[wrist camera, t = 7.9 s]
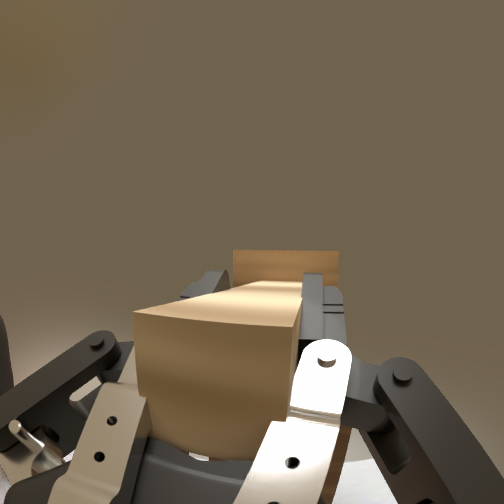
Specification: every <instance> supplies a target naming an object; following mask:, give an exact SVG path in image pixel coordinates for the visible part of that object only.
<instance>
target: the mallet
mask: <svg viewBox="0 0 504 504" xmlns="http://www.w3.org/2000/svg"><path fill="white" fill-rule="evenodd" d="M233 262H234V263H233V288H231V289H228V290H224V291H220V292H216V293H212V294H206V295H202V296H198V297H194V298H190V299H186V300H181V301H177V302H173V303H169V304H164V305H160V306H156V307H151V308H147V309H143V310H138V311H134V312H133V327H134V328H133V329H134V349H135V363H136V374H137V384H138V393H139V396H143V397H146V398H147V402H148V407H149V412H150V416H151V421H152V425H153V428H152V429H151V430H150V431H149V433H148V436H147V437H150V438H153V439H156V440H159V441H162V442H165V443H168V444H169V445H171V446H173V447H175V448H176V449H179V450H183V451H187V452H191V453H195V454H199V455H203V456H207V457H212V458H217V459H222V460H227V461H232V460H245V461H252V462H254V460H255V458H256V456H257V454H258V452H259V450H260V447H261V445H262V443H263V441H264V438H265V436H266V434H267V432H268V429H269V427H270V425H271V422H272V421H274V422H286V419H287V414H288V410H289V408H290V402H291V395H292V388H293V380H294V376H295V374H296V371H297V367H298V342H299V330H300V320H301V309H302V298H301V293H302V281H303V273H322V283H323V286H336V287H337V289H338V270H339V269H338V268H339V251H287V250H234V259H233Z"/></svg>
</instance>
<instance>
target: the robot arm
mask: <svg viewBox="0 0 504 504" xmlns="http://www.w3.org/2000/svg"><path fill="white" fill-rule="evenodd" d="M228 289H231V288H230V282H229V275H228V272H227V271H226V270H207V271H206V273H205V274H204V276H203V278H202V279H201V281H195V282H193V283H192V284H191V285H189V286H188V287H187V288H185V290H184V291H183V293H182V294H181V296H180V298H179V299H178V300H177V301H181V300H186V299H190V298H194V297H198V296H202V295H206V294H212V293H216V292H220V291H224V290H228ZM301 298H302V309H301V320H300V330H299V342H298V367H297V371H296V374H295V376H294V380H293V388H292V395H291V402H290V408H289V410H288V414H287V419H286V422H274V421H272V422H271V425H270V427H269V429H268V432H267V434H266V436H265V438H264V441H263V443H262V445H261V447H260V450H259V452H258V454H257V456H256V458H255V460H254V462H252V461H245V460H232V461H200V460H197V459H195V458H193V457H191V456H189V452H187V451H183V450H179V449H176V448H175V447H173V446H171V445H169V444H168V443H165V442H162V441H159V440H156V439H153V438H150V437H147V436H148V433H149V431H150V430H151V429H152V428H153V425H152V421H151V416H150V412H149V407H148V402H147V398H146V397H143V396H139V393H138V384H137V374H136V363H135V349H134V341H132V342H131V341H130V342H117V340H116V338H115V336H114V334H113V333H112V332H110V331H97V332H95V333H92V334H91V335H89V336H88V337H86V338H85V339H83V340H82V341H80V342H79V343H77V344H76V345H74V346H73V347H71V348H70V349H68V350H67V351H65V352H64V353H62V354H61V355H59V356H58V357H56V358H55V359H54V360H52V361H51V362H49V363H48V364H46V365H45V366H43V367H42V368H40V369H39V370H38V371H36V372H35V373H33V374H32V375H30V376H29V377H27V378H26V379H25V380H23V381H22V382H20V383H19V384H17V385H16V386H15V387H14V383H13V373H12V368H11V362H10V355H9V346H8V338H7V332H6V328H5V324H4V321H3V319H2V317H1V316H0V464H1V466H2V468H3V470H4V472H5V474H6V475H7V478H8V480H9V482H10V484H11V487H10V488H9V490H8V491H7V493H6V496H5V499H4V504H327V502H326V501H325V500H324V499H323V497H322V496H321V495H320V494H321V491H322V488H323V484H324V481H325V478H326V475H327V472H328V468H329V465H330V461H331V458H332V454H333V451H334V447H335V443H336V439H337V435H338V431H339V427H340V424H342V425H345V426H349V427H352V428H356V429H358V430H359V432H360V434H361V436H362V438H363V440H364V442H365V443H366V445H367V447H368V449H369V451H370V453H371V454H372V456H373V458H374V460H375V462H376V464H377V466H378V467H379V469H380V471H381V473H382V475H383V477H384V479H385V480H386V482H387V484H388V486H389V488H390V490H391V492H392V493H393V495H394V497H395V499H396V501H397V503H398V504H504V479H503V477H502V476H501V474H500V473H499V471H498V470H497V468H496V467H495V465H494V464H493V462H492V461H491V459H490V458H489V456H488V455H487V453H486V452H485V450H484V449H483V448H482V446H481V445H480V443H479V442H478V441H477V439H476V438H475V436H474V435H473V434H472V432H471V431H470V430H469V428H468V427H467V425H466V424H465V423H464V422H463V420H462V419H461V418H460V416H459V415H458V414H457V412H456V411H455V410H454V408H453V407H452V406H451V404H450V403H449V402H448V401H447V399H446V398H445V397H444V395H443V394H442V393H441V392H440V390H439V389H438V388H437V387H436V385H435V384H434V383H433V382H432V380H431V379H430V378H429V377H428V375H427V374H426V373H425V372H424V370H423V369H422V368H421V367H420V366H419V365H418V364H417V363H416V362H414V361H413V360H410V359H408V358H402V357H396V358H391V359H389V360H387V361H385V362H384V363H383V364H382V365H381V366H377V365H373V364H369V363H365V362H363V361H361V360H359V359H357V358H355V357H354V356H353V355H352V354H351V352H350V351H349V349H348V347H347V340H346V329H345V318H344V308H343V299H342V294H341V292H340V291H339V290H338V289H337V287H336V286H323V283H322V273H303V281H302V293H301ZM95 376H97V378H98V379H99V381H100V382H101V385H100V386H98V387H97V388H96V389H94V390H93V391H92V392H90V393H89V394H88V395H87V396H85V397H84V398H82V399H81V400H79V401H71V400H70V399H69V397H70V395H71V394H72V393H73V392H75V391H76V390H78V389H79V388H80V387H82V386H83V385H84V384H86V383H87V382H88V381H90V380H91V379H93V378H94V377H95ZM73 450H75V452H74V454H73V457H72V460H70V461H68V462H65V460H64V459H63V458H64V457H65V456H67V455H68V454H69V453H71V452H72V451H73Z"/></svg>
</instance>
